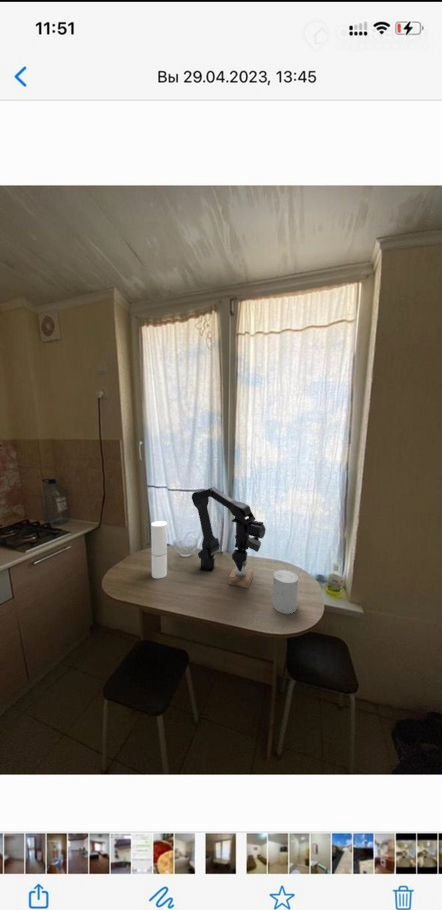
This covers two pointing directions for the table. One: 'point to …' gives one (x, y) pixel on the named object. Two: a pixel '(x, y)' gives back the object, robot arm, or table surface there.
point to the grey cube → (243, 571)
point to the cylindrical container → (159, 549)
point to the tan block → (241, 578)
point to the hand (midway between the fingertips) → (241, 565)
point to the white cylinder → (285, 591)
